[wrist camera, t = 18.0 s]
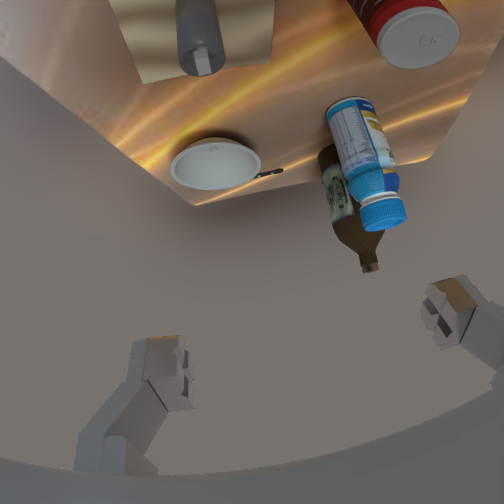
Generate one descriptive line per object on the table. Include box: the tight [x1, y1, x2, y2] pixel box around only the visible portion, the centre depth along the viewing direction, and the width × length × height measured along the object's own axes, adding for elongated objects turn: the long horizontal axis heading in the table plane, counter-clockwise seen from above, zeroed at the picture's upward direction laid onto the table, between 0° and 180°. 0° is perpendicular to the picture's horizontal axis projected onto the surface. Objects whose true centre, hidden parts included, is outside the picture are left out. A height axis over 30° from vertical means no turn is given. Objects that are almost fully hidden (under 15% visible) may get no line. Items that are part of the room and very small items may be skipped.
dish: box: [170, 137, 261, 190], centre depth 52 cm, size 18×14×5 cm
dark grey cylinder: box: [175, 0, 226, 76], centre depth 22 cm, size 4×4×9 cm
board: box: [109, 0, 275, 85], centre depth 23 cm, size 20×15×2 cm
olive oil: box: [318, 144, 385, 273], centre depth 61 cm, size 11×11×25 cm
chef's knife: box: [252, 169, 284, 179], centre depth 68 cm, size 19×1×3 cm
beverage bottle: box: [326, 97, 407, 231], centre depth 46 cm, size 8×8×20 cm
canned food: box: [347, 0, 460, 69], centre depth 21 cm, size 8×8×11 cm
